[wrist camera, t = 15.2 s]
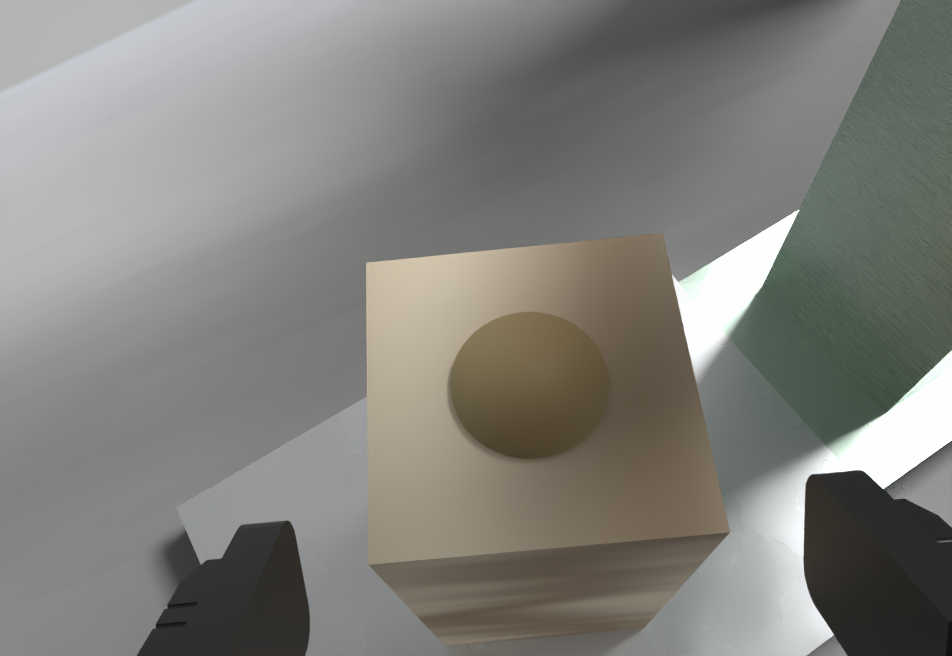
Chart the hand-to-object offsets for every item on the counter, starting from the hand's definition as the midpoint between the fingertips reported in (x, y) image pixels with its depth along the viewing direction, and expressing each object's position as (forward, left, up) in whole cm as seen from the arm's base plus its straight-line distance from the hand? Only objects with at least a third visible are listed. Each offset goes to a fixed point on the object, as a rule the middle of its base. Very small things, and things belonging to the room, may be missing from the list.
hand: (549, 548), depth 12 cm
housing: (+1, +2, -9) cm, 9 cm away
